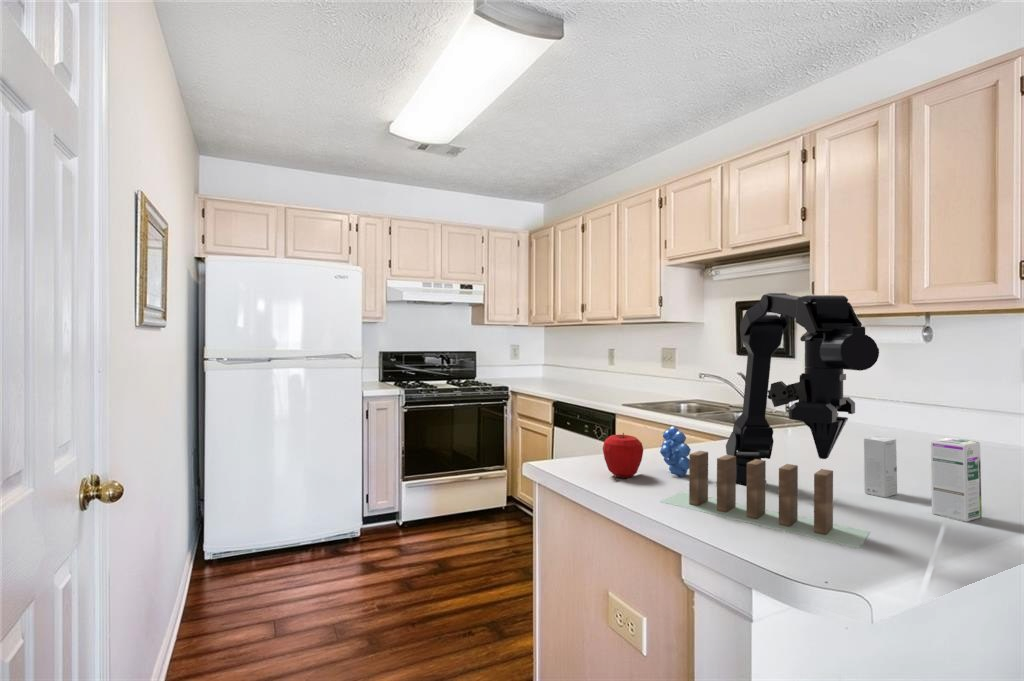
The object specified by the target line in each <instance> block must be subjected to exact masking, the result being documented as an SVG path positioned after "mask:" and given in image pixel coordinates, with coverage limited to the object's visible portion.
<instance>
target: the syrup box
mask: <svg viewBox="0 0 1024 681" xmlns="http://www.w3.org/2000/svg"><path fill="white" fill-rule="evenodd" d="M981 466H982V465H981V443H980V442H979V441H975V440H968V439H963V438H955V437H954V438H950V437H944V438H941V439H940V438H939V439H931V440H930V476H931V477H930V480H931V482H930V483H931V487H930V488H931V490H930V491H931V513H932V515H933V514H934V515H937V516H940V517H943V518H948V519H952V520H955V521H958V522H960V521H961V522H965V523H969V522H970V521H973V520H977V519H981V518H982V517H983V516H982V515H983V514H982V513H983V511H982V471H981V470H982V469H981V468H982V467H981Z"/></svg>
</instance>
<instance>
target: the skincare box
mask: <svg viewBox="0 0 1024 681" xmlns="http://www.w3.org/2000/svg"><path fill="white" fill-rule="evenodd" d="M897 460H898V459H897V439H896V438H891V437H884V436H883V437H882V436H872V437H866V438H865V437H864V438H863V468H864V469H863V472H864V473H863V474H864V476H863V477H864V479H863V481H864V482H863V484H864V486H863V487H864V494H867V495H871V496H875V497H880V498H889V497H891V496H895V495H897V494H898V471H897V470H898V469H897V468H898V467H897V466H898V465H897Z"/></svg>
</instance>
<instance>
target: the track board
mask: <svg viewBox="0 0 1024 681" xmlns="http://www.w3.org/2000/svg"><path fill="white" fill-rule="evenodd" d="M659 503H663V504H665V505H671V506H675V507H679V508H684V509H687V510H688V509H689V510H692V511H696V512H700V513H705V514H710V515H714V516H718V517H723V518H727V519H732V520H735V521H740V522H745V523H747V524H752V525H755V526H756V525H757V526H761V527H765V528H769V529H774V530H778V531H783V532H785V533H790V534H795V535H800V536H804V537H808V538H813V539H817V540H820V541H821V540H822V541H825V542H830V543H834V544H839V545H842V546H846V547H851V548H855V549H860V547H861V546H862V545H863V543H864V542H865V540H866V539H867V537H868V536H870V535H869V534H870V533H871V531H869V530H863V529H860V528H856V527H855V528H854V527H850V526H844V525H840V524H835V523H833V529H832V530H831V531H830V532H829V533H828V534H827V535H822V534H818V533H814V518H813V519H812V518H807V517H803V516H799V515H798V521H796V522H795V523H794V524H793V525H792V526H791V527H787V526H782V525H779V511H775V510H769V509H766V508H765V514H764V515H763V516H761V517H760V518H758V519H757V520H756V519H752V518H747V517H746V511H747V504H741V503H737V502H736V507H735V508H733V509H732V510H730V511H728V512H727V513H725V512H721V511H717V498H714V497H713V498H712V497H709V496H708V501H707V502H705V503H703V504H701V505H700V506H694V505H690V504H689V492H684V491H680V492H678V493H675V494H674V495H671V496H669V497H666V498H665V499H662V500H660V501H659Z"/></svg>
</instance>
